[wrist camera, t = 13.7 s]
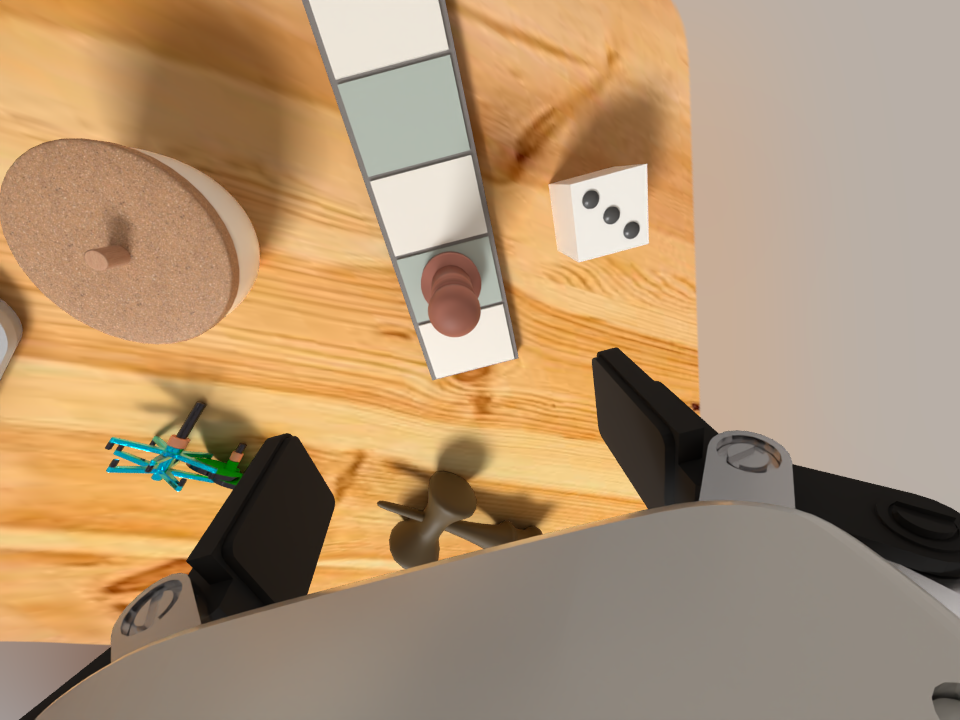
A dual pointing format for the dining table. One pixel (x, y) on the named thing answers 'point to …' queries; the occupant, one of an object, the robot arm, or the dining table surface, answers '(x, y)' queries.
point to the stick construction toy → (179, 458)
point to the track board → (416, 158)
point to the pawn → (452, 293)
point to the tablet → (8, 334)
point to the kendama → (445, 523)
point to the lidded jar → (128, 239)
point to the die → (601, 212)
